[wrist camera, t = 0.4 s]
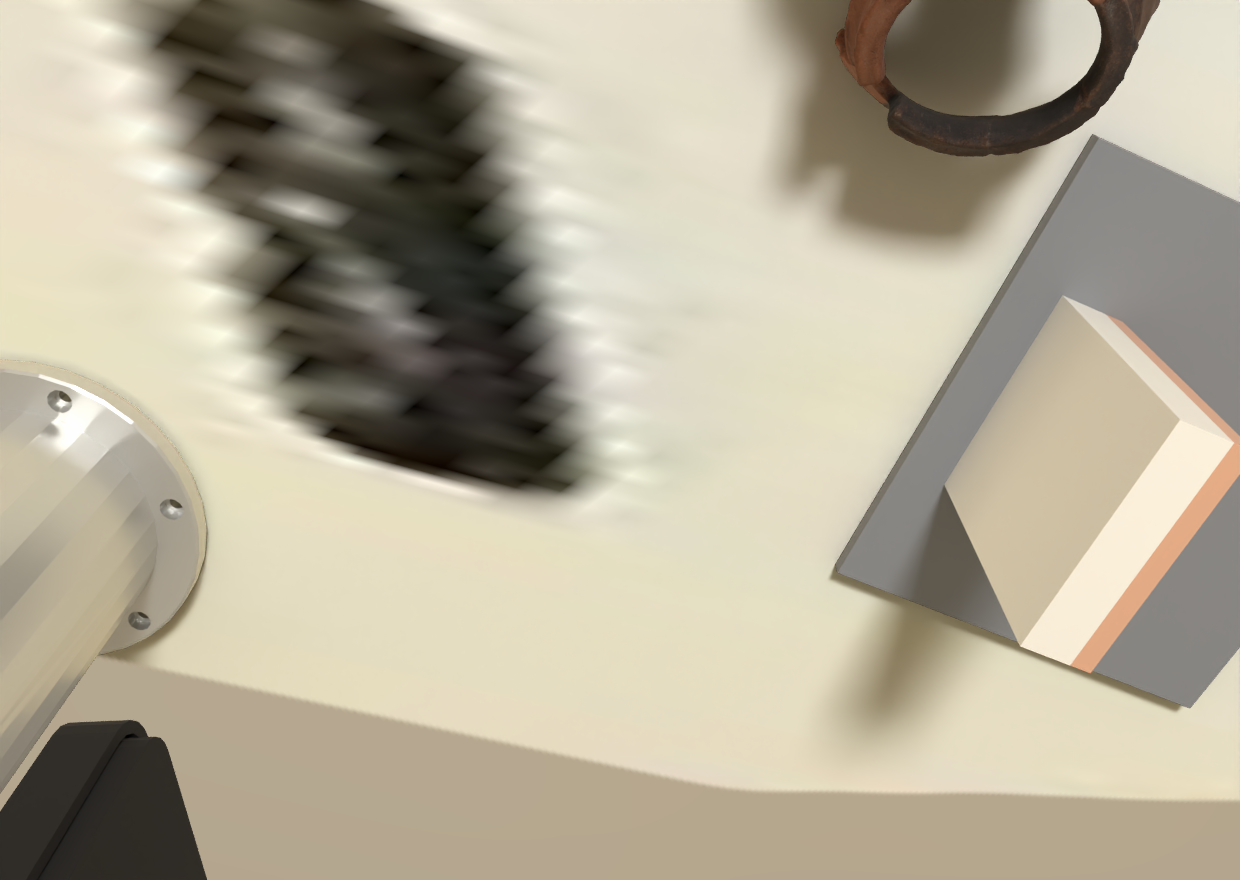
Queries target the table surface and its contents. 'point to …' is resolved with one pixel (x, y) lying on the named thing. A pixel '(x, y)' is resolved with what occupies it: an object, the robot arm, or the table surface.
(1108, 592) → the tile
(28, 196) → the table surface
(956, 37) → the table surface
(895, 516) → the mat
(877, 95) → the broken clay vessel
